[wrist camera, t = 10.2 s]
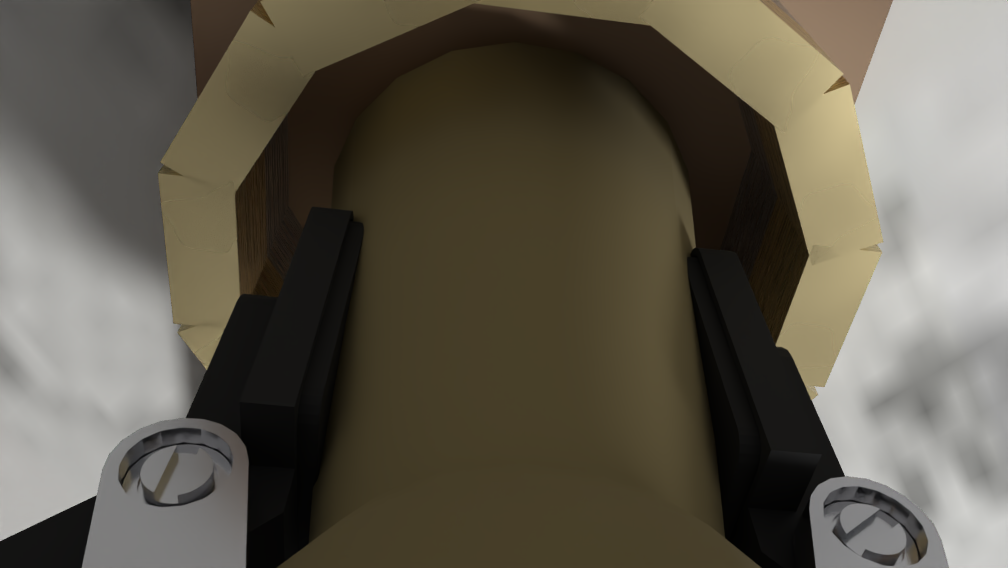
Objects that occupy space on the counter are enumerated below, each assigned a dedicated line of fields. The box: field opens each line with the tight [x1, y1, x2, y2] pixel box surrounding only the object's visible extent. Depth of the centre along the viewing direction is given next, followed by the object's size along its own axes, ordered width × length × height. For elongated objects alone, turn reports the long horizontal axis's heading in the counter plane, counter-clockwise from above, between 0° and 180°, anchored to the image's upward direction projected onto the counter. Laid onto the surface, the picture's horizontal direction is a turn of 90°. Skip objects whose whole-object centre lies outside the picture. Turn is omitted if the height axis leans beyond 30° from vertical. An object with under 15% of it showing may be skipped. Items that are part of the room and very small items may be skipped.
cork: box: [277, 42, 761, 568], centre depth 10 cm, size 6×6×11 cm
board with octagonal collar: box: [190, 0, 893, 250], centre depth 16 cm, size 24×11×1 cm, turn 173°
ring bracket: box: [158, 0, 883, 400], centre depth 14 cm, size 23×10×4 cm, turn 173°
